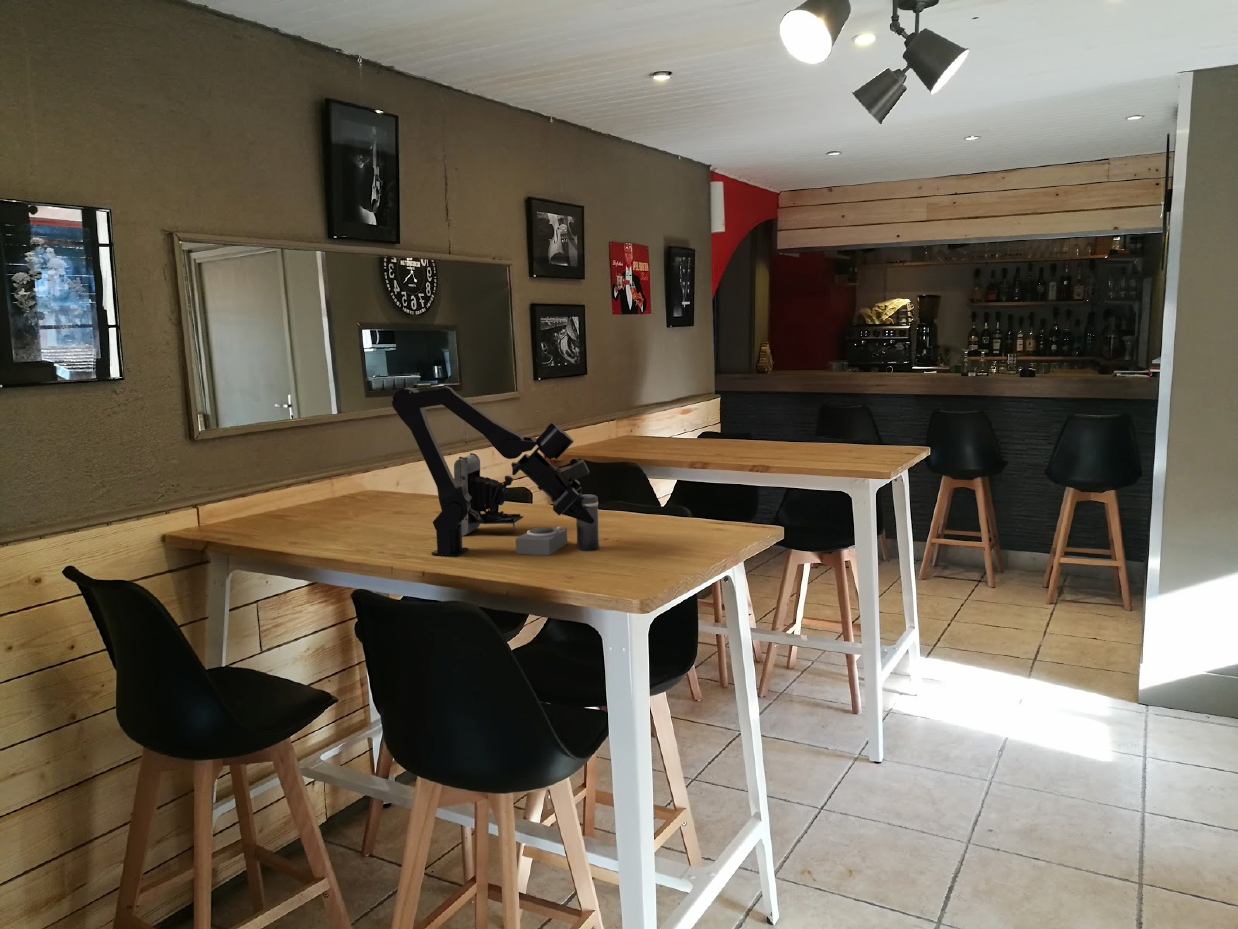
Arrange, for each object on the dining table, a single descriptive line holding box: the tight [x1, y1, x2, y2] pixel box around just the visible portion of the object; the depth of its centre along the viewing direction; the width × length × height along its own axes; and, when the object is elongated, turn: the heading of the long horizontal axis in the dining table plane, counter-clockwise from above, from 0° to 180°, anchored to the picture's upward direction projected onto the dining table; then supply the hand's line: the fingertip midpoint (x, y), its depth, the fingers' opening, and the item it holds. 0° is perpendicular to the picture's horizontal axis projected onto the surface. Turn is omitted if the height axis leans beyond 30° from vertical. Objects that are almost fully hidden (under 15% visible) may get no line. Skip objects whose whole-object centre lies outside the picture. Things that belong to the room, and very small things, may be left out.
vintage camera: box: [453, 452, 524, 537], centre depth 224 cm, size 10×16×20 cm, turn 79°
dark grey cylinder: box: [575, 493, 600, 552], centre depth 204 cm, size 5×5×12 cm
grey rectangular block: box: [515, 526, 568, 556], centre depth 206 cm, size 12×8×4 cm, turn 164°
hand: (593, 520), depth 204 cm, fingers closed on dark grey cylinder, 5 cm apart
